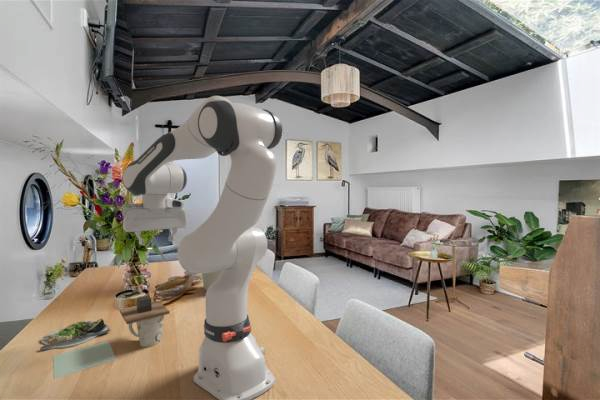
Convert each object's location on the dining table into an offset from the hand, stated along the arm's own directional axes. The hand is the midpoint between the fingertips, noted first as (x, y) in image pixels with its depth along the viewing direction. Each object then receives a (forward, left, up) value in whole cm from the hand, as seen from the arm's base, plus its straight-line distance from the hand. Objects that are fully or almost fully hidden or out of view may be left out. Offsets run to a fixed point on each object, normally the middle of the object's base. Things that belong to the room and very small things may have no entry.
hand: (157, 242), depth 106 cm
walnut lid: (-6, +6, -21) cm, 23 cm away
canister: (+28, -35, -31) cm, 55 cm away
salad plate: (+14, +22, -32) cm, 41 cm away
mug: (-6, +6, -31) cm, 33 cm away
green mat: (-5, +22, -31) cm, 38 cm away
